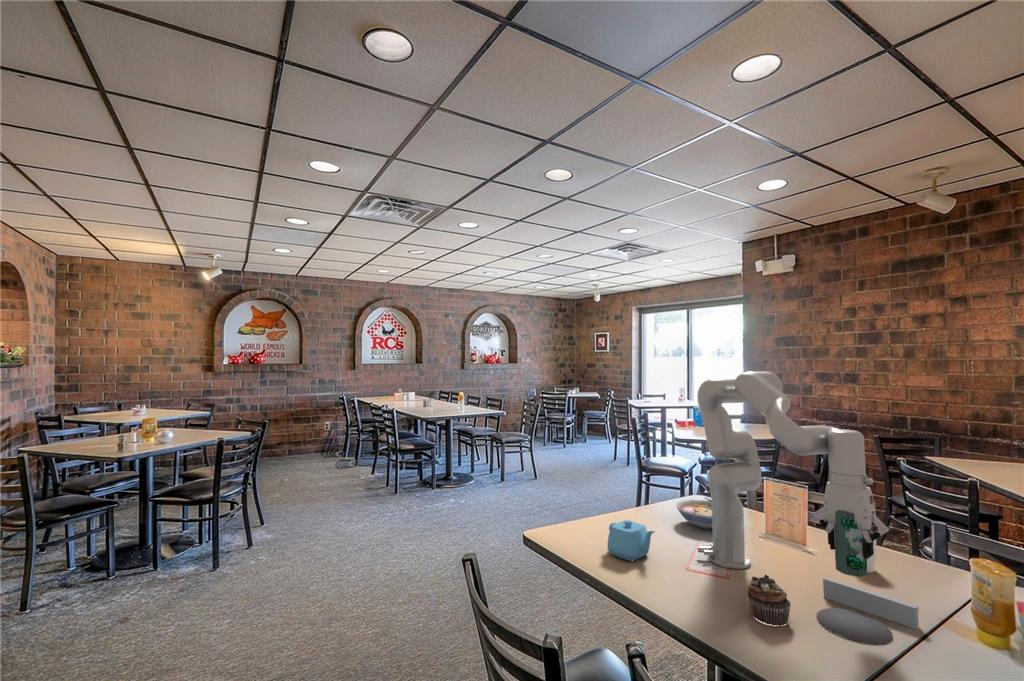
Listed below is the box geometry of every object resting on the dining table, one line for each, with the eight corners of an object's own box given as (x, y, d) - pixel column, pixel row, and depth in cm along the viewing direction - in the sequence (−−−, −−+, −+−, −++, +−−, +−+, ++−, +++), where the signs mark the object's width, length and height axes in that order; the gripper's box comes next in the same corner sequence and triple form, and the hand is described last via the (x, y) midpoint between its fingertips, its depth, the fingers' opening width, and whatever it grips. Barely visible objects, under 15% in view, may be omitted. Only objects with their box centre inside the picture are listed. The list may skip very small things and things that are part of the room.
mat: (837, 641, 109) (836, 639, 109) (805, 608, 124) (805, 606, 124) (908, 646, 107) (908, 644, 107) (867, 612, 122) (867, 610, 122)
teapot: (645, 570, 147) (644, 533, 147) (599, 553, 160) (598, 519, 161) (666, 559, 155) (665, 524, 155) (620, 544, 168) (620, 512, 169)
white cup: (883, 574, 143) (881, 541, 144) (854, 572, 145) (852, 539, 145) (868, 564, 151) (867, 532, 151) (841, 562, 152) (840, 530, 153)
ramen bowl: (665, 517, 198) (665, 497, 198) (716, 515, 200) (716, 495, 201) (694, 539, 173) (694, 516, 173) (752, 536, 175) (752, 514, 176)
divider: (917, 629, 114) (916, 608, 114) (823, 597, 129) (823, 578, 130) (918, 627, 115) (917, 606, 115) (826, 595, 130) (825, 577, 131)
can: (858, 578, 112) (855, 515, 113) (831, 569, 117) (828, 508, 118) (871, 573, 115) (868, 511, 115) (844, 564, 120) (842, 504, 121)
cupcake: (773, 632, 112) (772, 590, 113) (739, 613, 121) (738, 573, 122) (800, 624, 116) (799, 582, 117) (765, 605, 125) (764, 567, 126)
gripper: (895, 484, 112) (898, 560, 111) (814, 471, 126) (817, 539, 125) (885, 489, 108) (889, 568, 107) (803, 475, 122) (805, 545, 121)
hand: (850, 552), depth 116 cm, fingers closed on can, 6 cm apart
